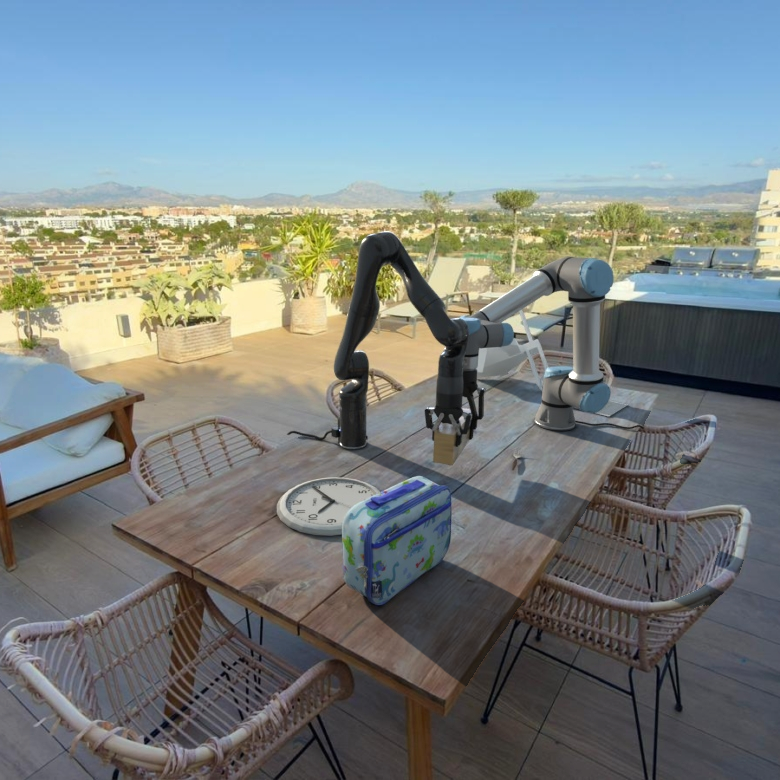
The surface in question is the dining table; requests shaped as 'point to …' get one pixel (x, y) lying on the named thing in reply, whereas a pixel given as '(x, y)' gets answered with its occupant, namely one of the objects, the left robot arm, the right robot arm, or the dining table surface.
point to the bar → (449, 442)
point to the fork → (516, 457)
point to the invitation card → (611, 408)
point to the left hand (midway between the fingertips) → (446, 443)
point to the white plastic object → (510, 357)
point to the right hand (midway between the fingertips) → (461, 436)
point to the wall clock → (322, 504)
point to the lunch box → (395, 537)
